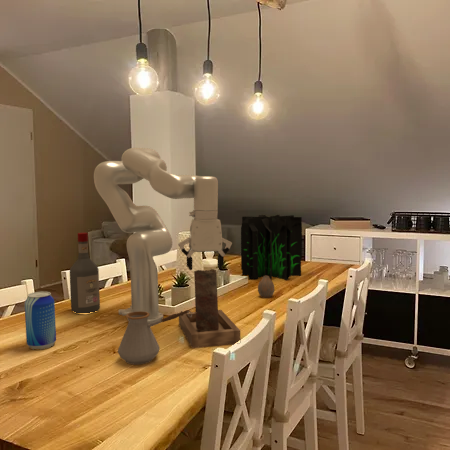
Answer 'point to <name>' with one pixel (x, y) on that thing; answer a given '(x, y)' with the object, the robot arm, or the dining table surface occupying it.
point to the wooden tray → (197, 338)
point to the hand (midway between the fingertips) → (205, 268)
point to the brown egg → (266, 287)
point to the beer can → (40, 320)
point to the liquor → (84, 280)
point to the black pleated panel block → (271, 246)
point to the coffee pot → (141, 338)
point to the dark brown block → (206, 300)
